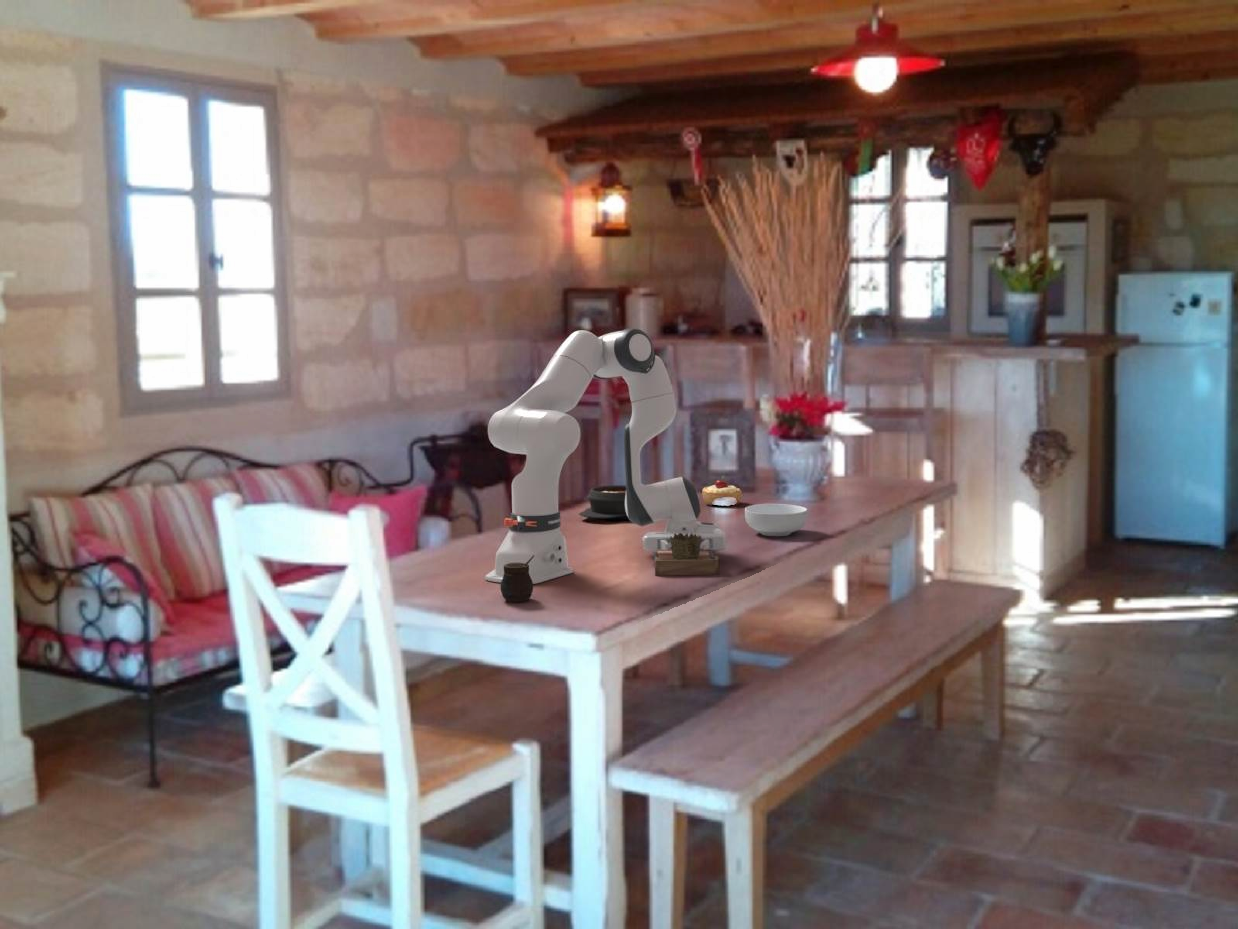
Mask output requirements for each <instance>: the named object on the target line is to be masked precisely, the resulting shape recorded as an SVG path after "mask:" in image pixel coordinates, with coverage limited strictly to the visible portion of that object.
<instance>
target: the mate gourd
mask: <svg viewBox="0 0 1238 929" xmlns="http://www.w3.org/2000/svg"><path fill="white" fill-rule="evenodd" d="M533 557H534V555H533V556H532V557H531V558H530V560H529V561H528V562H527V563H519V562H515V563H508V564H505V565H504V576H503V579H502V581H501V582H500V585H499V586H500V592H501V594H502V595H501V596H502V597H503V599H504V600H505V601H507V602H508V603H524V602H526V601H528V600H529V599H530V598H531V597H532V595H533V594H532V593H533V591H534V584H533V582H532V579H531V577H530V575H529V565H528V563H529V562H530V561H531V560H532V558H533Z"/></svg>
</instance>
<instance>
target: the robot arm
mask: <svg viewBox="0 0 1238 929" xmlns="http://www.w3.org/2000/svg"><path fill="white" fill-rule="evenodd" d="M668 373H669V372H668V370H667V368H666V365H665V363H664V362H663V359H662V358H661V357H659V356H658V355H656V350H655V348H654V344H653V342H652V341H651V338H650V337H649V335H647V333H646V332H645V331H643V330H641V329H639V328H624V329H622V330H618V331H613V332H612V331H611V332H609V333H608V332H607V333H604V334H603V335H601V336H596V334H594V333H593V332H590V331H589V330H584V329H583V330H582V329H581V330H576V331H574V332H572V333H570V335H569V336H568V337H567V338H566V339H565V340H564V341H563V343H562V344H561V345H560V346H559V347H558V349H557V350H556V351H555V352H554V354H553V356H551V359H550V360H549V362H548V363H547V365H546V367H545V368H544V369H543V371H542V373H541V374H540V375H539V378H537V380H536V381H535V383H533V385H532V386H531V387H530V388H529V389H527V391H526V392H524V393H523V394H522V395H521V396H520V397H518V398H517V399H516V400H515V401H514V402H512V403H511V404H510V405H507V406H506V407H504V408H502V409H500V410H498V411H495V412H494V413H493V414H492V416H491V417H490V419H489V422H488V424H487V425H488V426H487V435H488V439H489V441H490V443H491V444H492V445H493V447H494V448H497V449H499V450H502V451H504V452H507V453H510V454H515V455H516V454H517V455H518V454H519V455H526V458H525V459H526V460H525V463H524V467H523V469H522V471H521V472H519V473H518V474H517V475H515V477H514V478H513V479H512V482H511V509H512V510H511V511H512V512H511V513H510V517H509V518H508V517H506V518H504V521H503V525H504V527H506V528H507V527H508V532H507V535H506V536H505V538H504V539H503V541H502V543H501V545H500V546H499V548H498V550H496V553H495V560H494V563H495V564H494V565H495V566H494V569H492V571H490V572H489V573H487V574H486V575H485V578H484V580H486V581H489V582H495V583H501V581H502V579H503V576H504V565H505V564H508V563H515V562H519V563H527V562H528V561H529V560H530V558H531V557H532V556H533V555H534V557H533V558H532V560H531V561H530V562H529V563H528V565H529V575H530V577H531V579H532V582H533V585H534V584H539V583H544V582H546V581H549V580H552V579H557V578H559V577H562V576H566V575H569V574H573V572H574V569H573V567H571V566H569V559H568V550H567V542H566V541H567V540H566V536H565V535H564V534H563V533H562V531H561V529H560V527H561V525H562V524H561V521H562V517H561V512H560V511H559V482H560V477H561V473H562V472H561V471H562V469H563V467H564V464H565V463H566V460H567V459H568V458H569V456H570V455H572V454H573V452H575V450H576V449H577V447H578V445H579V443H580V440H581V428H580V424H579V422H578V421H577V419H576V418H575V417H574V416H572V415H570V414H568V413H567V412H570V411H571V410H572V409H575V408H576V406H577V405H578V403H579V402H580V400H581V399H582V397H583V396H584V393H585V392H586V390H587V388H588V387H589V386H590V383H591V382H592V379H596V380H608V379H609V378H615V377H621V378H622V379H623V380H624V381H625V383H626V384H627V386H628V394H629V398H630V402H631V417H630V420H629V422H627V424H625V426H624V432H623V447H624V448H623V451H624V452H623V457H624V471H625V472H624V473H625V476H624V478H625V485H626V495H625V510H626V514H627V516H628V518H629V519H628V520H629V521H630V522H631V523H633V524H634V525H636V526H639V527H645V526H648V525H651V524H654V523H656V522H660V521H665V520H666V524H665V530H664V531H649V532H646V533H645V534H644V535H643V536H642V537H641V541H642V542H643V550H644V551H647V552H654V551H672V544H671V539H670V536H672V538H674V534H676V535H678V534H679V533H682V534H683V535H684V536H685V534H688V537H689V536H690V534H693V535H694V534H696V536H697V537H698V535H699V536H701V543H700V551H710V550H712V551H725V550H727V534H726V533H725V531H724V530H723V529H721V528H719V524H718V523H713V522H703V521H698V518H699V517H700V514H701V512H702V511H701V505H700V500H699V497H698V493H697V489H696V487H695V485H694V484H693V482H692V481H691V480H689V479H688V478H686V477H683V476H679V477H675V478H669V479H666V480H663V481H658V482H654V483H650V484H644V483H642V480H641V479H642V477H641V451H642V449H643V447H644V446H645V445H646V444H647V443H649V441H651V440H652V439H653V438H654V437H657V436H658V435H659V434H661V433H662V432H664V431H665V430H666V429H667V428H668V427H670V425H671V424H673V422H674V419H675V418H676V415H677V405H676V398H675V393H674V389H673V385H672V383H671V379H670V376H669V374H668Z"/></svg>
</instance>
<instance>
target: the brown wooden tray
mask: <svg viewBox="0 0 1238 929" xmlns="http://www.w3.org/2000/svg"><path fill="white" fill-rule="evenodd" d="M653 561H654V562H653V564H654V576H703V575H704V576H706V575H708V576H709V575H712V576H713V575H714V576H715V575H716V576H717V575H720V559H719V556H718V555H715V554H714V550H710V551H700V552H699V556H698V558H697V560H675V559H674V557H673V553H672V551H653Z"/></svg>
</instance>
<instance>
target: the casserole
mask: <svg viewBox="0 0 1238 929" xmlns="http://www.w3.org/2000/svg"><path fill="white" fill-rule="evenodd" d="M625 495H626V484H625V485H624V484H623V485H622V484H620V485H619V484H615V485H614V484H613V485H612V484H611V485H601V486H596V487H592V488H590V490H589V493H588V495H587V496H586V498H587V499H588V501H589V506H590V507H588V508H585V510H583V511H581V512H579V513H578V515H579V516H581V517H584V518H590V519H600V520H606V521H616V520H617V521H620V520H621V521H622V520H629V518H628V516H627V514H626V510H625Z"/></svg>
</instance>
